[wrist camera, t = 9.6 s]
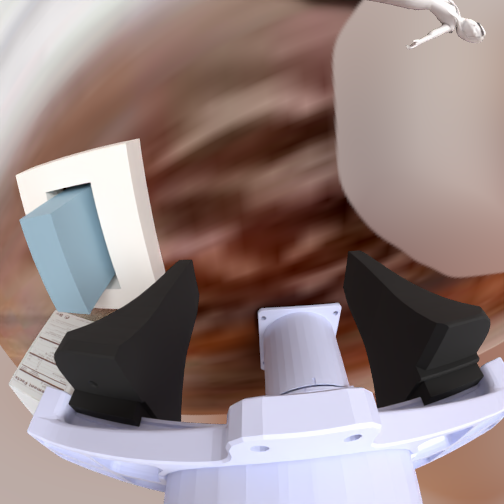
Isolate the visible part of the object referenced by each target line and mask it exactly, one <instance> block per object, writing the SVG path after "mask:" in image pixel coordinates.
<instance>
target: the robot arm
mask: <svg viewBox="0 0 504 504" xmlns="http://www.w3.org/2000/svg"><path fill="white" fill-rule="evenodd" d="M343 288H344V292H345V296H346V299H347V303H348V306H349V308H350V311H351V313H352V315H353V318H354V320H355V322H356V325H357V327H358V330H359V332H360V334H361V337H362V339H363V342H364V345H365V348H366V352H367V356H368V360H369V364H370V368H371V373H372V378H373V383H374V389H375V395H376V403H377V406H376V404H375V400H374V397H373V393H372V392H370V391H368V390H366V389H364V388H362V387H354V386H349V383H348V379H347V376H346V372H345V368H344V365H343V361H342V358H341V354H340V351H339V347H338V344H337V341H336V332H337V327H338V322H339V317H340V312H341V306H340V304H339V303H332V304H320V305H307V306H292V307H275V308H261V309H259V310H258V324H259V342H260V360H261V369H262V370H265V392H266V396H257V397H251V398H245V399H243V400H241V401H239V402H237V403H235V404H233V405H231V406H230V407H229V410H228V413H227V424H204V423H188V422H181V404H182V388H183V377H184V368H185V360H186V355H187V350H188V346H189V342H190V338H191V334H192V331H193V327H194V323H195V319H196V315H197V310H198V302H199V292H198V287H197V282H196V277H195V272H194V267H193V262H192V260H179V261H178V262H177V263H176V264H174V265H173V266H172V267H171V268H170V269H169V270H168V271H167V272H166V273H165V274H164V275H162V276H161V277H160V278H159V279H158V280H157V281H156V282H155V283H154V284H152V285H151V286H150V287H149V288H148V289H146V290H145V291H144V292H143V293H142V294H140V295H139V296H138V297H136V298H135V299H134V300H132V301H131V302H129V303H128V304H126V305H125V306H123V307H122V308H120V309H118V310H116V311H115V312H113V313H111V314H109V315H108V316H106V317H104V318H102V319H100V320H97V321H95V322H93V323H91V324H88V325H86V326H83V327H80V328H77V329H74V330H72V331H68V332H67V333H66V334H65V336H64V338H63V339H62V341H61V343H60V344H59V346H58V348H57V350H56V352H55V353H54V360H55V363H56V366H57V367H58V369H59V371H60V372H61V373H62V374H63V376H64V377H65V378H66V380H67V381H68V382H69V383H70V384H71V386H72V387H73V388H74V392H73V394H72V395H71V394H69V393H68V392H65V391H63V390H59V389H56V388H52V387H49V386H47V387H46V389H45V391H44V393H43V395H42V397H41V400H40V402H39V404H38V406H37V408H36V411H35V413H34V415H33V418H32V420H31V423H30V425H29V428H28V430H27V432H28V433H29V434H30V435H31V436H32V437H34V438H35V439H36V440H37V441H39V442H40V443H41V444H43V445H44V446H45V447H47V448H48V449H49V450H51V451H52V452H54V453H55V454H56V455H58V456H59V457H61V458H63V459H65V460H67V461H70V462H72V463H75V464H77V465H80V466H82V467H84V468H87V469H90V470H92V471H95V472H98V473H100V474H103V475H106V476H109V477H112V478H115V479H118V480H121V481H124V482H127V483H131V484H134V485H137V486H141V487H145V488H149V489H153V490H157V491H161V492H165V499H164V504H423V503H422V498H421V493H420V489H419V485H418V480H417V477H416V473H415V469H416V468H418V467H421V466H423V465H425V464H427V463H429V462H432V461H434V460H436V459H438V458H440V457H442V456H444V455H446V454H448V453H450V452H452V451H454V450H455V449H457V448H459V447H461V446H463V445H464V444H466V443H468V442H470V441H472V440H473V439H475V438H477V437H478V436H480V435H482V434H483V433H485V432H487V431H488V430H490V429H491V428H493V427H494V426H495V425H496V424H497V423H498V422H499V421H500V420H502V419H503V418H504V362H503V361H502V359H501V357H499V358H496V359H494V360H492V361H490V362H487V363H486V364H484V365H483V366H481V368H479V366H478V364H477V362H478V361H479V357H478V355H477V351H478V349H479V348H480V346H481V345H482V343H483V341H484V340H485V338H486V336H487V334H488V332H489V328H490V319H489V318H488V316H487V315H486V314H485V312H484V311H483V310H482V308H481V307H479V306H474V305H469V304H465V303H460V302H457V301H454V300H450V299H447V298H444V297H441V296H439V295H436V294H434V293H431V292H429V291H427V290H425V289H422V288H420V287H418V286H416V285H414V284H412V283H411V282H409V281H407V280H405V279H404V278H402V277H400V276H399V275H397V274H396V273H394V272H392V271H391V270H389V269H388V268H386V267H385V266H383V265H382V264H380V263H379V262H377V261H376V260H375V259H373V258H372V257H370V256H368V255H367V254H365V253H364V252H362V251H348V258H347V266H346V273H345V280H344V286H343ZM335 311H337V312H335ZM334 312H335V313H334ZM263 316H265V317H264V318H263Z"/></svg>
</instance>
